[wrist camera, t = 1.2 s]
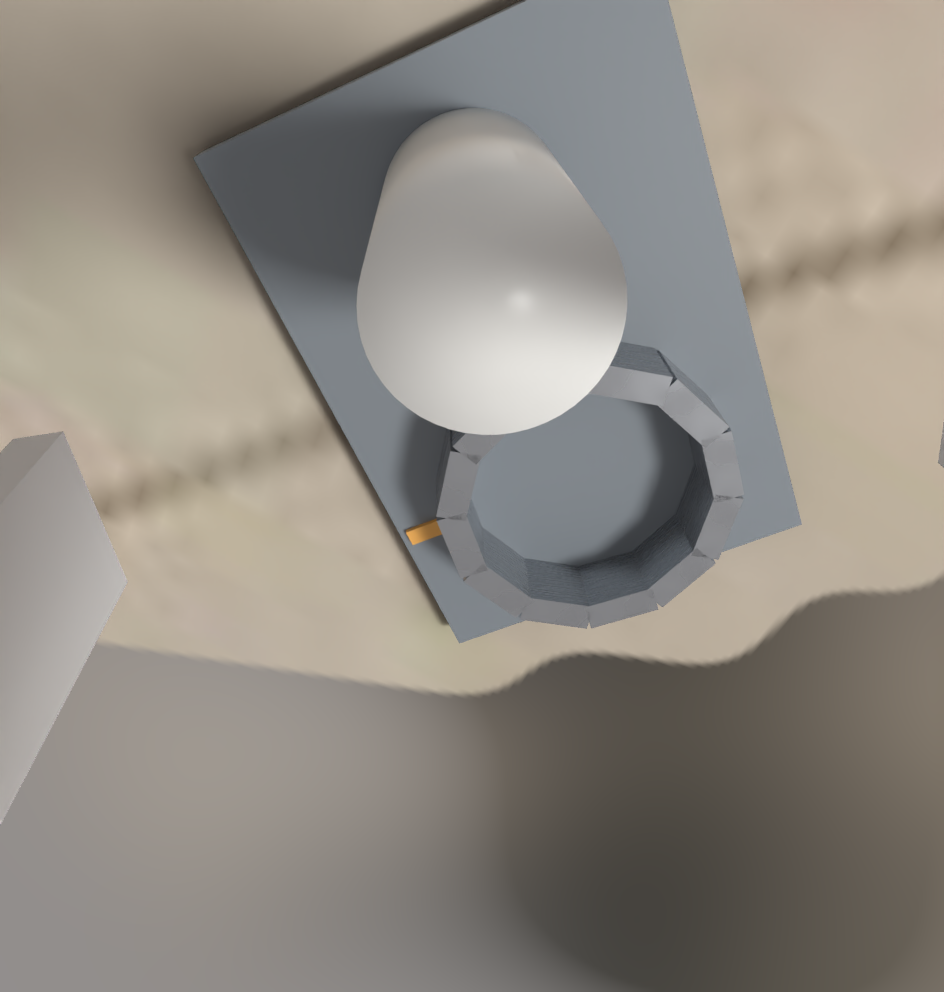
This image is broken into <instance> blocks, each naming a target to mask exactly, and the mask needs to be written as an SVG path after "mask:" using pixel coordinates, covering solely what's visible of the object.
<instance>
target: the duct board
mask: <svg viewBox="0 0 944 992" xmlns="http://www.w3.org/2000/svg"><path fill="white" fill-rule="evenodd" d="M464 108H484V109H491V110H495V111H498V112H502V113H505V114H507V115H509V116H511V117H514V118H516V119H517V120H519V121H520V122H522V123H524V124H525V125H527V126H528V127H529V128H530V129H531V130H532V131H534V132H535V133H536V134H537V135H538V137H539V138H540V139H541V140H542V141H543V142H544V143H545V145H546V146H547V148H548V149H549V150H550V152H551V153H552V155H553V156H554V157H555V159H556V160H557V161H558V163H559V164H560V166H561V167H562V168H563V170H564V171H565V173H566V174H567V175H568V177H569V178H570V180H571V181H572V182H573V184H574V185H575V186H576V188H577V189H578V191H579V192H580V193H581V195H582V196H583V198H584V199H585V200H586V202H587V203H588V205H589V206H590V207H591V209H592V210H593V211H594V213H595V214H596V216H597V217H598V218H599V220H600V221H601V223H602V224H603V226H604V227H605V229H606V230H607V232H608V233H609V235H610V236H611V238H612V240H613V242H614V244H615V246H616V248H617V250H618V253H619V256H620V259H621V262H622V265H623V268H624V273H625V279H626V284H627V314H626V322H625V326H624V331H623V335H622V339H621V341H620V342H625V343H630V344H636V345H641V346H647V347H652V348H655V349H656V351H657V352H658V351H661V352H662V353H663V354H664V355H665V356H666V357H667V358H668V359H669V360H670V361H671V362H672V363H674V364H675V365H676V366H677V367H678V368H679V369H680V370H681V371H682V372H683V373H684V374H685V375H687V376H688V377H689V378H690V379H691V380H692V381H693V382H694V383H695V384H696V385H697V386H698V387H700V388H701V389H702V390H703V391H704V392H705V393H706V394H707V395H708V396H709V398H710V399H711V401H712V402H713V404H714V405H715V406H716V408H717V409H718V411H719V412H720V414H721V415H722V417H723V418H724V420H725V421H726V423H727V424H728V426H729V428H730V429H731V431H732V435H733V440H734V445H735V450H736V455H737V460H738V465H739V470H740V475H741V481H742V486H743V491H744V495H742V497H743V499H744V500H743V502H742V504H741V507H740V509H739V512H738V514H737V516H736V519H735V521H734V524H733V526H732V528H731V531H730V533H729V535H728V538H727V540H726V543H725V545H724V547H723V550H722V552H724V551H726V550H729V549H732V548H735V547H738V546H741V545H744V544H747V543H749V542H752V541H755V540H758V539H761V538H764V537H767V536H770V535H773V534H775V533H778V532H781V531H784V530H787V529H790V528H793V527H796V526H798V525H801V524H802V523H801V519H800V515H799V512H798V508H797V504H796V500H795V496H794V492H793V488H792V484H791V480H790V476H789V472H788V468H787V464H786V461H785V457H784V453H783V449H782V445H781V441H780V437H779V433H778V429H777V425H776V421H775V417H774V414H773V410H772V406H771V402H770V398H769V394H768V390H767V386H766V382H765V378H764V374H763V370H762V366H761V363H760V359H759V355H758V351H757V347H756V343H755V339H754V335H753V331H752V327H751V323H750V319H749V315H748V312H747V308H746V304H745V300H744V296H743V292H742V288H741V284H740V280H739V276H738V272H737V268H736V264H735V261H734V257H733V253H732V249H731V245H730V241H729V237H728V233H727V229H726V225H725V221H724V217H723V214H722V210H721V206H720V202H719V198H718V194H717V190H716V186H715V182H714V178H713V174H712V170H711V166H710V163H709V159H708V155H707V151H706V147H705V143H704V139H703V135H702V131H701V127H700V123H699V119H698V115H697V112H696V108H695V104H694V100H693V96H692V92H691V88H690V84H689V80H688V76H687V72H686V68H685V65H684V61H683V57H682V53H681V49H680V45H679V41H678V37H677V33H676V29H675V25H674V21H673V17H672V14H671V10H670V6H669V2H668V0H522V1H520V2H518V3H515V4H513V5H511V6H509V7H507V8H505V9H503V10H501V11H498V12H496V13H494V14H492V15H490V16H488V17H486V18H484V19H482V20H479V21H477V22H475V23H473V24H471V25H469V26H467V27H465V28H462V29H460V30H458V31H456V32H454V33H452V34H450V35H448V36H445V37H443V38H441V39H439V40H437V41H435V42H433V43H431V44H429V45H426V46H424V47H422V48H420V49H418V50H416V51H414V52H412V53H409V54H407V55H405V56H403V57H401V58H399V59H397V60H395V61H393V62H390V63H388V64H386V65H384V66H382V67H380V68H378V69H376V70H373V71H371V72H369V73H367V74H365V75H363V76H361V77H359V78H357V79H354V80H352V81H350V82H348V83H346V84H344V85H342V86H340V87H337V88H335V89H333V90H331V91H329V92H327V93H325V94H323V95H321V96H318V97H316V98H314V99H312V100H310V101H308V102H306V103H304V104H301V105H299V106H297V107H295V108H293V109H291V110H289V111H287V112H285V113H282V114H280V115H278V116H276V117H274V118H272V119H270V120H268V121H265V122H263V123H261V124H259V125H257V126H255V127H253V128H251V129H249V130H246V131H244V132H242V133H240V134H238V135H236V136H234V137H232V138H229V139H227V140H225V141H223V142H221V143H219V144H217V145H215V146H213V147H210V148H208V149H206V150H204V151H202V152H201V153H199V154H198V155H196V156H195V157H194V158H193V159H194V161H195V162H196V164H197V166H198V168H199V170H200V172H201V173H202V175H203V177H204V179H205V181H206V183H207V184H208V186H209V188H210V190H211V192H212V193H213V195H214V197H215V199H216V201H217V203H218V204H219V206H220V208H221V210H222V212H223V213H224V215H225V217H226V219H227V221H228V223H229V224H230V226H231V228H232V230H233V232H234V234H235V235H236V237H237V239H238V241H239V243H240V244H241V246H242V248H243V250H244V252H245V254H246V255H247V257H248V259H249V261H250V263H251V264H252V266H253V268H254V270H255V272H256V274H257V275H258V277H259V279H260V281H261V283H262V285H263V286H264V288H265V290H266V292H267V294H268V295H269V297H270V299H271V301H272V303H273V305H274V306H275V308H276V310H277V312H278V314H279V315H280V317H281V319H282V321H283V323H284V325H285V326H286V328H287V330H288V332H289V334H290V336H291V337H292V339H293V341H294V343H295V345H296V346H297V348H298V350H299V352H300V354H301V356H302V357H303V359H304V361H305V363H306V365H307V366H308V368H309V370H310V372H311V374H312V376H313V377H314V379H315V381H316V383H317V385H318V387H319V388H320V390H321V392H322V394H323V396H324V397H325V399H326V401H327V403H328V405H329V407H330V408H331V410H332V412H333V414H334V416H335V417H336V419H337V421H338V423H339V425H340V427H341V428H342V430H343V432H344V434H345V436H346V438H347V439H348V441H349V443H350V445H351V447H352V448H353V450H354V452H355V454H356V456H357V458H358V459H359V461H360V463H361V465H362V467H363V468H364V470H365V472H366V474H367V476H368V478H369V479H370V481H371V483H372V485H373V487H374V489H375V490H376V492H377V494H378V496H379V498H380V499H381V501H382V503H383V505H384V507H385V509H386V510H387V512H388V514H389V516H390V518H391V519H392V521H393V523H394V525H395V527H396V529H397V530H398V532H399V534H400V536H401V538H402V540H403V541H404V543H405V545H406V547H407V549H408V550H409V552H410V554H411V556H412V558H413V560H414V561H415V563H416V565H417V567H418V569H419V570H420V572H421V574H422V576H423V578H424V580H425V581H426V583H427V585H428V587H429V589H430V591H431V592H432V594H433V596H434V598H435V600H436V601H437V603H438V605H439V607H440V609H441V611H442V612H443V614H444V616H445V618H446V620H447V622H448V623H449V625H450V627H451V629H452V631H453V632H454V634H455V636H456V638H457V640H458V642H459V643H462V642H465V641H467V640H470V639H473V638H476V637H479V636H482V635H485V634H488V633H491V632H493V631H496V630H499V629H502V628H505V627H508V626H511V625H514V624H516V623H519V622H522V621H525V620H520V616H519V615H518V616H517V617H516V618H515V617H514V616H512V615H511V614H509V613H508V612H507V611H505V610H504V609H502V608H501V607H499V606H498V605H496V604H495V603H494V602H492V601H491V600H489V599H488V598H486V597H485V596H483V595H482V594H481V593H479V592H478V591H476V590H475V589H473V588H472V587H471V586H469V585H468V584H466V583H465V582H464V581H463V578H460V575H459V573H458V571H457V568H456V566H455V563H454V561H453V559H452V556H451V554H450V552H449V549H448V547H447V545H446V542H445V540H444V537H443V535H442V533H441V530H440V528H439V526H438V523H437V517H436V477H437V473H438V468H439V463H440V458H441V453H442V449H443V444H444V439H445V434H446V430H447V428H445V427H442V426H439V425H436V424H434V423H432V422H430V421H428V420H426V419H424V418H422V417H420V416H418V415H417V414H416V413H414V412H413V411H411V410H410V409H408V408H407V407H405V406H404V405H403V404H402V403H401V402H400V401H399V400H397V399H396V398H395V397H394V396H393V395H392V394H391V393H390V391H389V390H388V389H387V388H386V387H385V386H384V385H383V383H382V382H381V380H380V379H379V377H378V376H377V374H376V373H375V371H374V370H373V368H372V366H371V364H370V362H369V360H368V358H367V356H366V353H365V350H364V347H363V344H362V341H361V338H360V333H359V328H358V323H357V307H356V305H357V291H358V284H359V280H360V275H361V270H362V266H363V262H364V259H365V255H366V251H367V247H368V243H369V239H370V235H371V231H372V227H373V223H374V220H375V216H376V212H377V208H378V204H379V200H380V196H381V192H382V188H383V185H384V181H385V177H386V174H387V171H388V168H389V165H390V163H391V161H392V159H393V157H394V155H395V153H396V152H397V150H398V149H399V147H400V146H401V144H402V143H403V142H404V141H405V140H406V138H407V137H408V136H409V135H410V134H411V133H412V132H413V131H414V130H416V129H417V128H418V127H419V126H420V125H422V124H423V123H425V122H427V121H428V120H430V119H431V118H433V117H436V116H438V115H440V114H442V113H445V112H449V111H452V110H457V109H464ZM693 466H694V460H693V456H692V451H691V447H690V443H689V438H688V434H687V431H686V430H685V429H683V428H682V427H681V426H680V425H679V424H678V423H677V422H676V421H674V420H673V419H672V418H671V417H670V416H669V415H668V414H667V413H665V412H664V411H663V410H662V409H661V408H660V407H659V406H657V405H652V404H647V403H641V402H635V401H629V400H624V399H618V398H612V397H607V396H601V395H595V394H590V395H586V396H585V397H584V398H583V399H582V400H580V401H579V402H578V403H577V404H576V405H575V406H573V407H572V408H570V409H569V410H567V411H566V412H565V413H563V414H562V415H560V416H558V417H556V418H554V419H552V420H550V421H548V422H546V423H544V424H541V425H539V426H536V427H533V428H531V429H527V430H523V431H519V432H515V433H507V434H506V435H505V436H504V437H503V438H502V439H501V440H500V441H499V442H498V443H497V444H496V445H495V446H494V447H493V448H492V449H491V450H490V451H489V452H488V453H487V454H486V455H485V456H484V457H483V458H482V459H481V460H480V462H479V467H478V471H477V475H476V479H475V484H474V488H473V492H472V496H471V499H472V501H473V504H474V506H475V509H476V511H477V514H478V517H479V519H480V522H481V524H482V527H483V528H484V529H486V530H487V531H488V532H490V533H491V534H492V535H494V536H495V537H496V538H498V539H499V540H501V541H502V542H503V543H505V544H506V545H507V546H509V547H510V548H511V549H513V550H514V551H516V552H517V553H518V554H520V555H521V556H522V557H524V558H527V559H534V560H540V561H547V562H554V563H561V564H568V565H574V566H581V565H585V564H588V563H592V562H595V561H598V560H602V559H605V558H609V557H612V556H616V555H619V554H622V553H626V552H629V551H633V550H634V549H635V548H637V547H638V546H639V545H640V544H641V543H642V542H643V541H645V540H646V539H647V538H648V537H649V536H650V535H651V534H653V533H654V532H655V531H656V530H657V529H658V528H659V527H661V526H662V525H663V524H664V523H665V522H666V521H668V520H669V519H670V518H671V517H672V516H673V515H674V514H675V513H676V511H677V508H678V505H679V503H680V500H681V497H682V495H683V492H684V489H685V487H686V484H687V481H688V479H689V476H690V474H691V471H692V468H693Z"/></svg>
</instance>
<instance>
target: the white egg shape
mask: <svg viewBox="0 0 944 992" xmlns="http://www.w3.org/2000/svg"><path fill="white" fill-rule="evenodd" d="M356 307H357V323H358V328H359V333H360V338H361V341H362V344H363V347H364V350H365V353H366V356H367V358H368V360H369V362H370V364H371V366H372V368H373V370H374V371H375V373H376V374H377V376H378V377H379V379H380V380H381V382H382V383H383V385H384V386H385V387H386V388H387V389H388V390H389V391H390V393H391V394H392V395H393V396H394V397H395V398H396V399H397V400H399V401H400V402H401V403H402V404H403V405H404V406H405V407H407V408H408V409H410V410H411V411H413V412H414V413H416V414H417V415H418V416H420V417H422V418H424V419H426V420H428V421H430V422H432V423H434V424H436V425H439V426H442V427H445V428H447V429H450V430H455V431H459V432H463V433H470V434H479V435H500V434H507V433H515V432H519V431H523V430H527V429H531V428H533V427H536V426H539V425H541V424H544V423H546V422H548V421H550V420H552V419H554V418H556V417H558V416H560V415H562V414H563V413H565V412H566V411H567V410H569V409H570V408H572V407H573V406H575V405H576V404H577V403H578V402H579V401H580V400H582V399H583V398H584V397H585V396H586V395H587V394H588V393H589V392H590V391H591V390H592V389H593V388H594V387H595V385H596V384H597V383H598V382H599V381H600V379H601V378H602V376H603V375H604V373H605V372H606V371H607V369H608V368H609V366H610V364H611V362H612V360H613V358H614V356H615V354H616V352H617V349H618V347H619V344H620V341H621V339H622V335H623V331H624V326H625V322H626V314H627V284H626V279H625V273H624V268H623V265H622V262H621V259H620V256H619V253H618V250H617V248H616V246H615V244H614V242H613V240H612V238H611V236H610V235H609V233H608V232H607V230H606V229H605V227H604V226H603V224H602V223H601V221H600V220H599V218H598V217H597V216H596V214H595V213H594V211H593V210H592V209H591V207H590V206H589V205H588V203H587V202H586V200H585V199H584V198H583V196H582V195H581V193H580V192H579V191H578V189H577V188H576V186H575V185H574V184H573V182H572V181H571V180H570V178H569V177H568V175H567V174H566V173H565V171H564V170H563V168H562V167H561V166H560V164H559V163H558V161H557V160H556V159H555V157H554V156H553V155H552V153H551V152H550V150H549V149H548V148H547V146H546V145H545V143H544V142H543V141H542V140H541V139H540V138H539V137H538V135H537V134H536V133H535V132H534V131H532V130H531V129H530V128H529V127H528V126H527V125H525V124H524V123H522V122H520V121H519V120H517V119H516V118H514V117H511V116H509V115H507V114H505V113H502V112H498V111H495V110H491V109H484V108H464V109H457V110H452V111H449V112H445V113H442V114H440V115H438V116H436V117H433V118H431V119H430V120H428V121H427V122H425V123H423V124H422V125H420V126H419V127H418V128H417V129H416V130H414V131H413V132H412V133H411V134H410V135H409V136H408V137H407V138H406V140H405V141H404V142H403V143H402V144H401V146H400V147H399V149H398V150H397V152H396V153H395V155H394V157H393V159H392V161H391V163H390V165H389V168H388V171H387V174H386V177H385V181H384V185H383V188H382V192H381V196H380V200H379V204H378V208H377V212H376V216H375V220H374V223H373V227H372V231H371V235H370V239H369V243H368V247H367V251H366V255H365V259H364V262H363V266H362V270H361V275H360V280H359V284H358V291H357V305H356Z"/></svg>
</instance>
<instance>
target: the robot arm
mask: <svg viewBox="0 0 944 992" xmlns="http://www.w3.org/2000/svg"><path fill="white" fill-rule="evenodd" d="M938 463H939V464H940V465H941V466H942V467H943V468H944V424H943V432H942V439H941V446H940V453H939V460H938ZM127 582H128V581H127V579H126V577H125V574H124V572H123V570H122V567H121V565H120V563H119V560H118V558H117V556H116V553H115V551H114V549H113V546H112V544H111V542H110V539H109V537H108V535H107V532H106V530H105V528H104V525H103V523H102V521H101V518H100V516H99V514H98V511H97V509H96V507H95V504H94V502H93V500H92V497H91V495H90V493H89V490H88V488H87V486H86V483H85V481H84V479H83V476H82V474H81V472H80V469H79V467H78V465H77V462H76V460H75V458H74V455H73V453H72V451H71V448H70V446H69V444H68V442H67V439H66V437H65V435H64V432H56V433H50V434H43V435H37V436H30V437H24V438H17V439H13V440H12V441H11V442H10V443H9V444H8V445H7V446H6V447H5V448H4V449H3V450H2V451H1V452H0V825H1V823H2V821H3V819H4V817H5V815H6V813H7V811H8V809H9V807H10V805H11V803H12V802H13V800H14V798H15V796H16V794H17V792H18V790H19V788H20V786H21V785H22V783H23V781H24V779H25V777H26V775H27V773H28V771H29V769H30V767H31V765H32V763H33V762H34V760H35V758H36V756H37V754H38V752H39V750H40V748H41V746H42V744H43V743H44V741H45V739H46V737H47V735H48V733H49V731H50V729H51V727H52V725H53V723H54V722H55V720H56V718H57V716H58V714H59V712H60V710H61V708H62V706H63V704H64V702H65V700H66V699H67V697H68V695H69V693H70V691H71V689H72V687H73V685H74V683H75V681H76V679H77V678H78V676H79V674H80V672H81V670H82V668H83V666H84V664H85V662H86V660H87V658H88V657H89V655H90V653H91V651H92V649H93V647H94V645H95V643H96V641H97V639H98V638H99V636H100V634H101V632H102V630H103V628H104V626H105V624H106V622H107V620H108V618H109V617H110V615H111V613H112V611H113V609H114V607H115V605H116V603H117V601H118V599H119V597H120V596H121V594H122V592H123V590H124V588H125V586H126V584H127Z"/></svg>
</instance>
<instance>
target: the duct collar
mask: <svg viewBox="0 0 944 992" xmlns="http://www.w3.org/2000/svg"><path fill="white" fill-rule="evenodd" d="M590 394H595V395H601V396H607V397H612V398H618V399H624V400H629V401H635V402H641V403H647V404H652V405H657V406H659V407H660V408H661V409H662V410H663V411H664V412H665V413H667V414H668V415H669V416H670V417H671V418H672V419H673V420H674V421H676V422H677V423H678V424H679V425H680V426H681V427H682V428H683V429H685V430H686V431H687V434H688V438H689V443H690V447H691V451H692V456H693V460H694V466H693V468H692V471H691V474H690V476H689V479H688V481H687V484H686V487H685V489H684V492H683V495H682V497H681V500H680V503H679V505H678V508H677V511H676V513H675V514H674V515H673V516H672V517H671V518H670V519H669V520H668V521H666V522H665V523H664V524H663V525H662V526H661V527H659V528H658V529H657V530H656V531H655V532H654V533H653V534H651V535H650V536H649V537H648V538H647V539H646V540H645V541H643V542H642V543H641V544H640V545H639V546H638V547H637V548H635V549H634V550H633V551H629V552H626V553H622V554H619V555H616V556H612V557H609V558H605V559H602V560H598V561H595V562H592V563H588V564H585V565H581V566H574V565H568V564H561V563H554V562H547V561H540V560H534V559H527V558H524V557H522V556H521V555H520V554H518V553H517V552H516V551H514V550H513V549H511V548H510V547H509V546H507V545H506V544H505V543H503V542H502V541H501V540H499V539H498V538H496V537H495V536H494V535H492V534H491V533H490V532H488V531H487V530H486V529H484V528H483V527H482V524H481V522H480V519H479V517H478V514H477V511H476V509H475V506H474V504H473V501H472V499H471V496H472V492H473V488H474V484H475V479H476V475H477V471H478V467H479V462H480V460H481V459H482V458H483V457H484V456H485V455H486V454H487V453H488V452H489V451H490V450H491V449H492V448H493V447H494V446H495V445H496V444H497V443H498V442H499V441H500V440H501V439H502V438H503V437H504V436H505V435H506V434H500V435H479V434H470V433H463V432H459V431H455V430H450V429H447V430H446V434H445V439H444V444H443V449H442V453H441V458H440V463H439V468H438V473H437V477H436V517H437V523H438V526H439V528H440V530H441V533H442V535H443V537H444V540H445V542H446V545H447V547H448V549H449V552H450V554H451V556H452V559H453V561H454V563H455V566H456V568H457V571H458V573H459V575H460V578H463V581H464V582H465V583H466V584H468V585H469V586H471V587H472V588H473V589H475V590H476V591H478V592H479V593H481V594H482V595H483V596H485V597H486V598H488V599H489V600H491V601H492V602H494V603H495V604H496V605H498V606H499V607H501V608H502V609H504V610H505V611H507V612H508V613H509V614H511V615H512V616H514V617H515V618H516V617H517V616H518V615H519V616H520V620H528V621H535V622H542V623H549V624H557V625H564V626H571V627H578V628H586V629H587V626H588V623H590V626H591V628H594V627H598V626H601V625H605V624H608V623H612V622H615V621H619V620H622V619H626V618H630V617H633V616H637V615H640V614H644V613H647V612H651V611H654V610H658V607H657V603H658V604H659V605H660V606H662V607H663V606H665V605H666V604H667V603H668V602H669V601H671V600H672V599H673V598H674V597H675V596H677V595H678V594H679V593H680V592H682V591H683V590H684V589H685V588H686V587H688V586H689V585H690V584H691V583H692V582H694V581H695V580H696V579H697V578H698V577H700V576H701V575H702V574H703V573H705V572H706V571H707V570H708V569H709V568H711V567H712V566H713V565H714V564H715V561H714V559H717V560H718V559H719V557H720V555H721V552H722V550H723V547H724V545H725V543H726V540H727V538H728V535H729V533H730V531H731V528H732V526H733V524H734V521H735V519H736V516H737V514H738V512H739V509H740V507H741V504H742V502H743V500H744V499H743V497H742V495H744V491H743V486H742V481H741V475H740V470H739V465H738V460H737V455H736V450H735V445H734V440H733V435H732V431H731V429H730V428H729V426H728V424H727V423H726V421H725V420H724V418H723V417H722V415H721V414H720V412H719V411H718V409H717V408H716V406H715V405H714V404H713V402H712V401H711V399H710V398H709V396H708V395H707V394H706V393H705V392H704V391H703V390H702V389H701V388H700V387H698V386H697V385H696V384H695V383H694V382H693V381H692V380H691V379H690V378H689V377H688V376H687V375H685V374H684V373H683V372H682V371H681V370H680V369H679V368H678V367H677V366H676V365H675V364H674V363H672V362H671V361H670V360H669V359H668V358H667V357H666V356H665V355H664V354H663V353H662V352H661V351H658V352H657V351H656V349H655V348H652V347H647V346H641V345H636V344H630V343H625V342H620V344H619V347H618V349H617V352H616V354H615V356H614V358H613V360H612V362H611V364H610V366H609V368H608V369H607V371H606V372H605V373H604V375H603V376H602V378H601V379H600V381H599V382H598V383H597V384H596V385H595V387H594V388H593V389H592V390H591V391H590V392H589V393H588V394H587V395H590Z"/></svg>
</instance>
